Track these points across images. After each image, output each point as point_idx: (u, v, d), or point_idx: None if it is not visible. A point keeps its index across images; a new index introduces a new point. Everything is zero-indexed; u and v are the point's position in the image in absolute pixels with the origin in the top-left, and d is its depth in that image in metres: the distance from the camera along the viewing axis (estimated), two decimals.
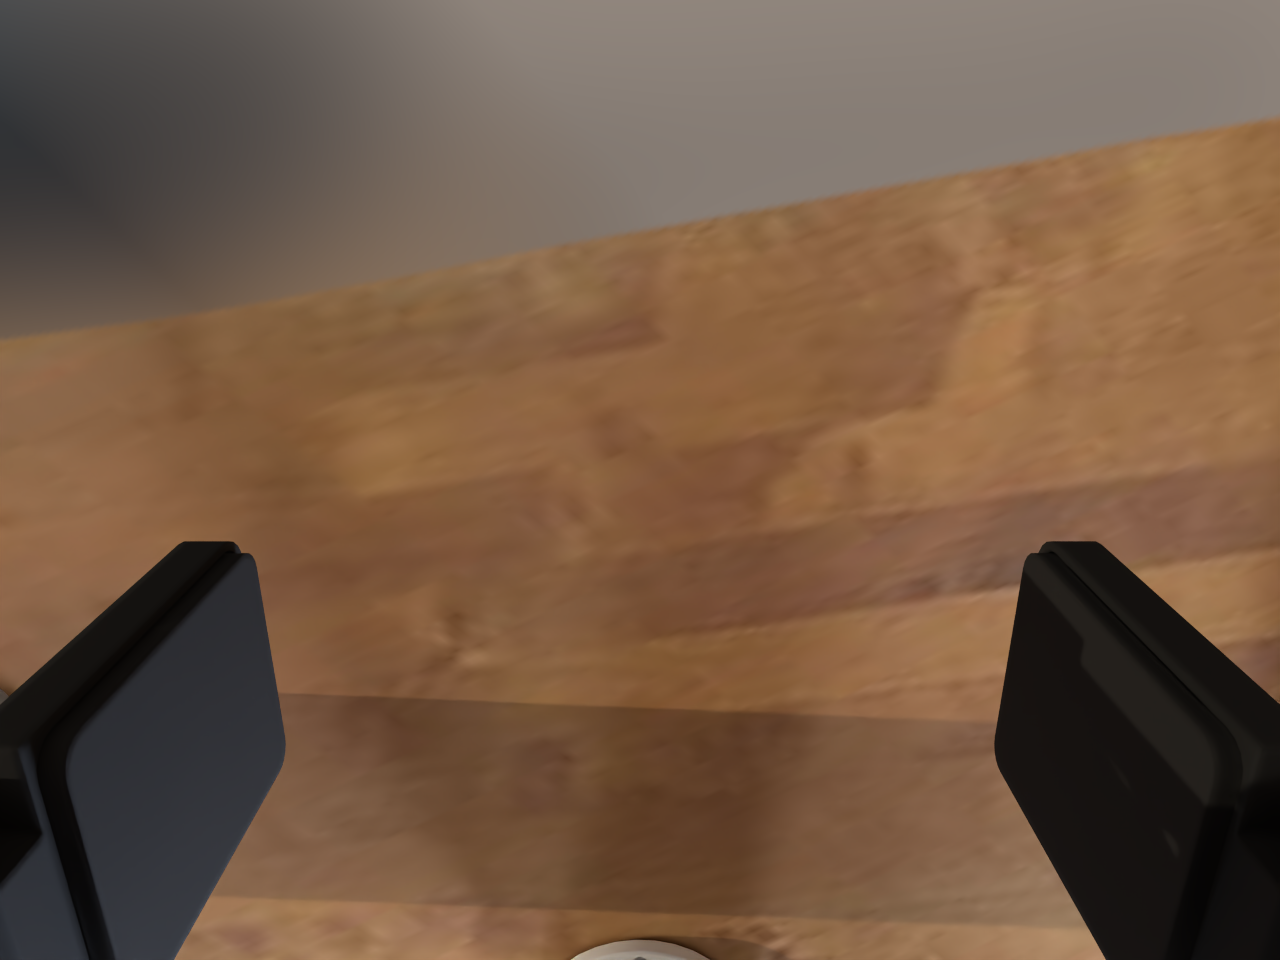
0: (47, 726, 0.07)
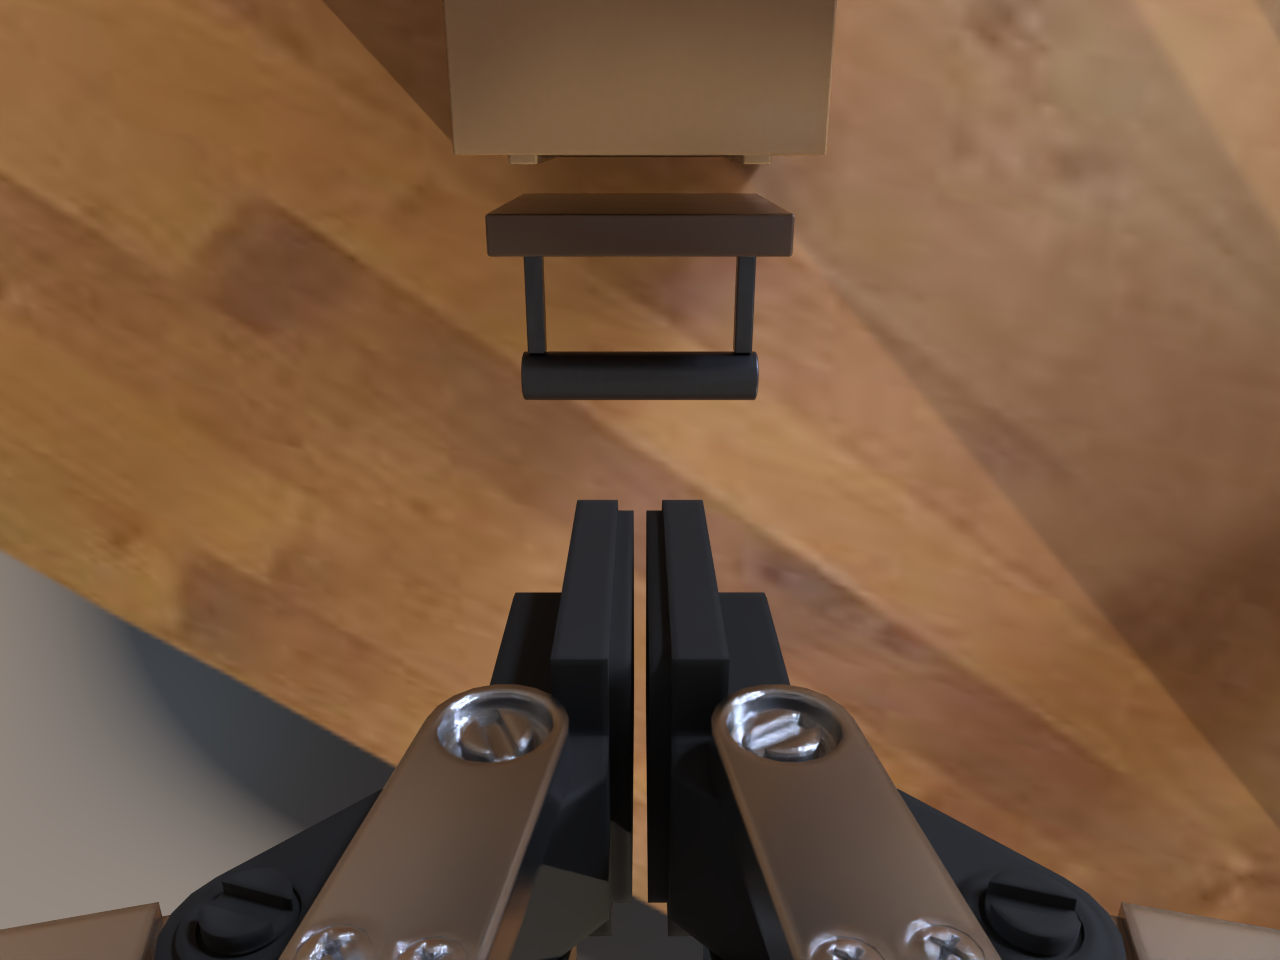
0: (607, 643, 0.08)
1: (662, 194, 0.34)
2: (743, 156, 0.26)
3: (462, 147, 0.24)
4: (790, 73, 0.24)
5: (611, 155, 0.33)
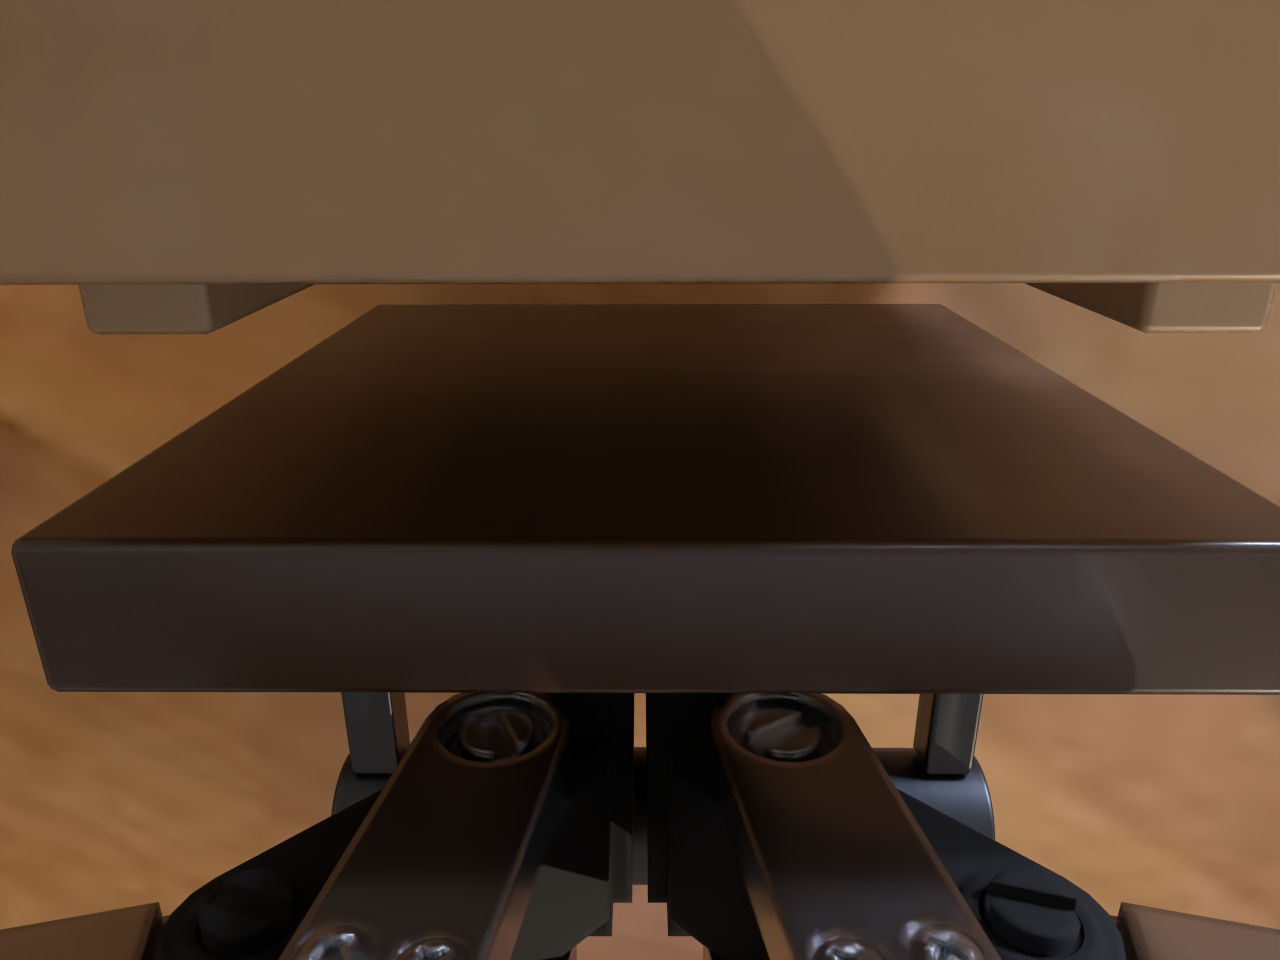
0: None
1: (714, 308, 0.14)
2: (1143, 299, 0.06)
3: None
4: None
5: None
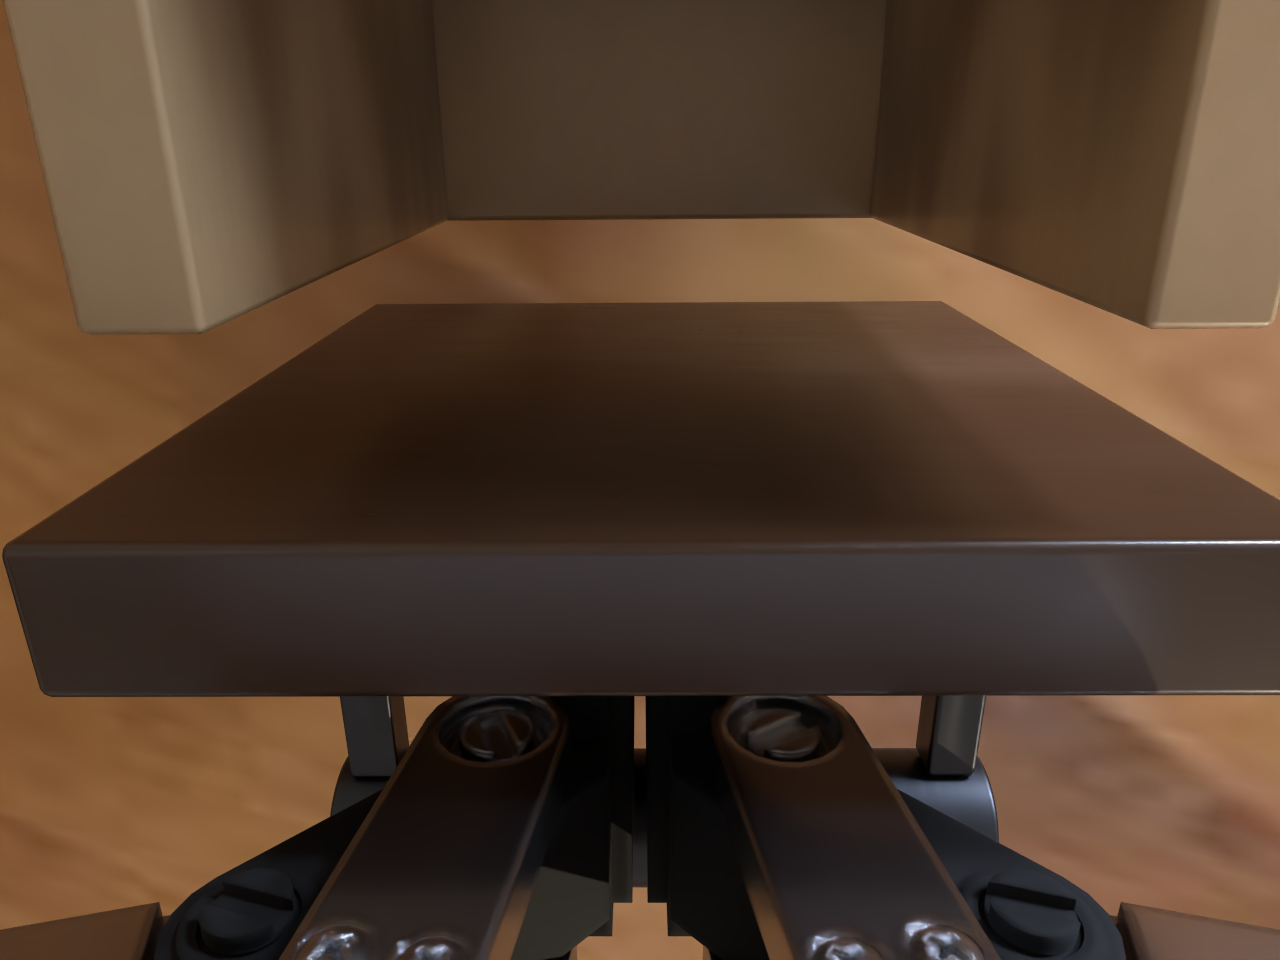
0: None
1: (713, 307, 0.14)
2: (1149, 294, 0.06)
3: None
4: None
5: (584, 216, 0.13)
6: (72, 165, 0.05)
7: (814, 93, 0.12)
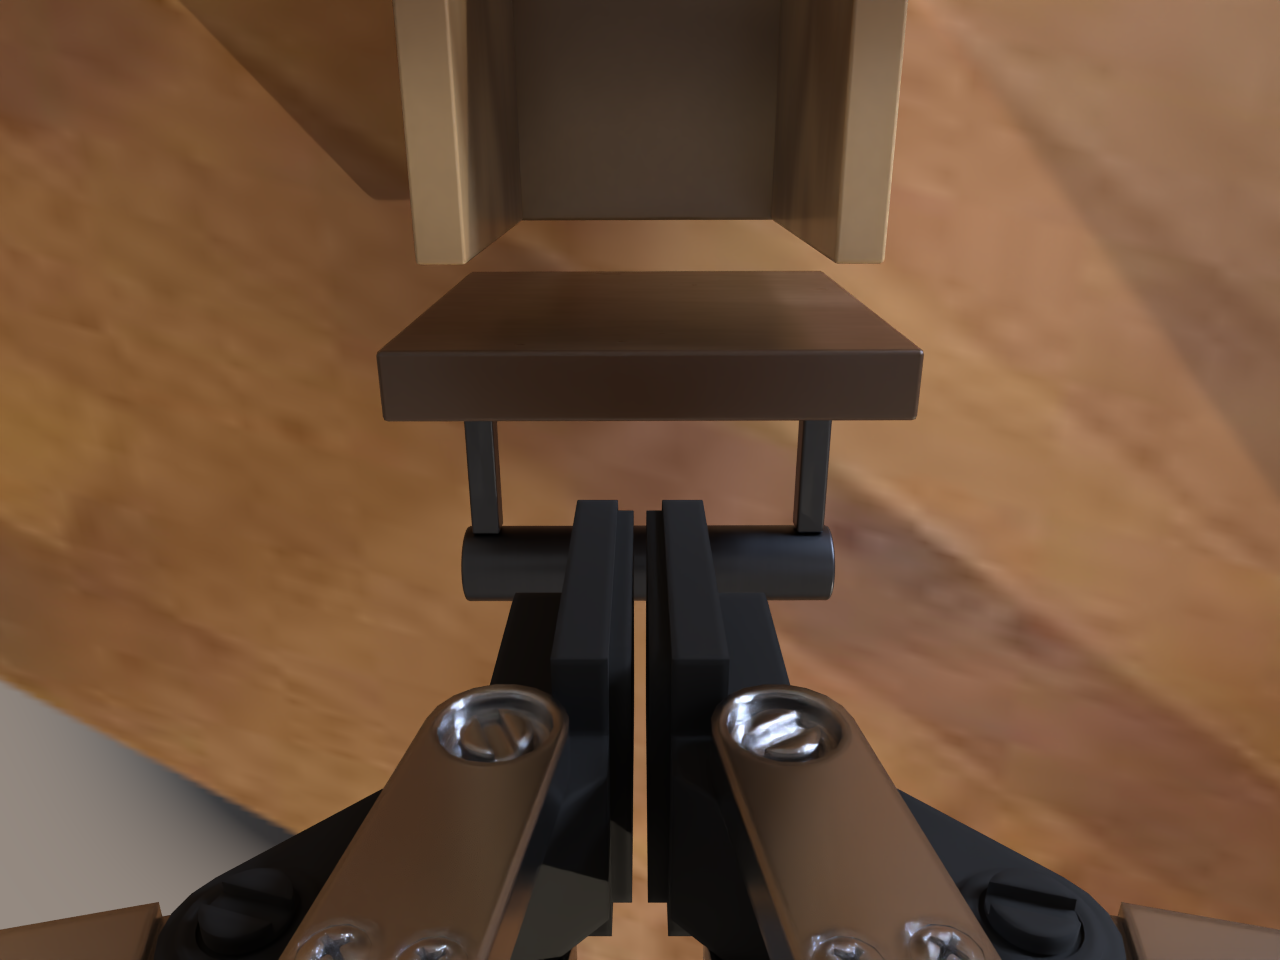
0: (607, 643, 0.08)
1: (680, 273, 0.22)
2: (835, 250, 0.14)
3: None
4: None
5: (603, 218, 0.21)
6: (422, 198, 0.14)
7: (736, 147, 0.21)
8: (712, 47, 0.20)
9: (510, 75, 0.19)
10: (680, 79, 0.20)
